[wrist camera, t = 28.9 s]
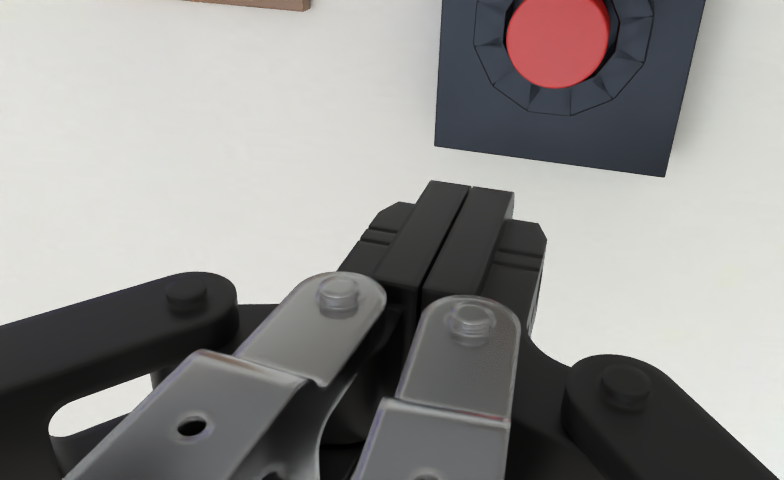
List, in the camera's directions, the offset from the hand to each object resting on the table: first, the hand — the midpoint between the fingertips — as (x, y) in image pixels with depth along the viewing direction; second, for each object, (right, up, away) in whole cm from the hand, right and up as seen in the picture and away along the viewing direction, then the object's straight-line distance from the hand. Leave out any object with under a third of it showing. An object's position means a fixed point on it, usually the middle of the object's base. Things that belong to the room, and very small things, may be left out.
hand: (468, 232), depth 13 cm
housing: (+6, +10, +17) cm, 21 cm away
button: (+5, +8, +14) cm, 17 cm away
